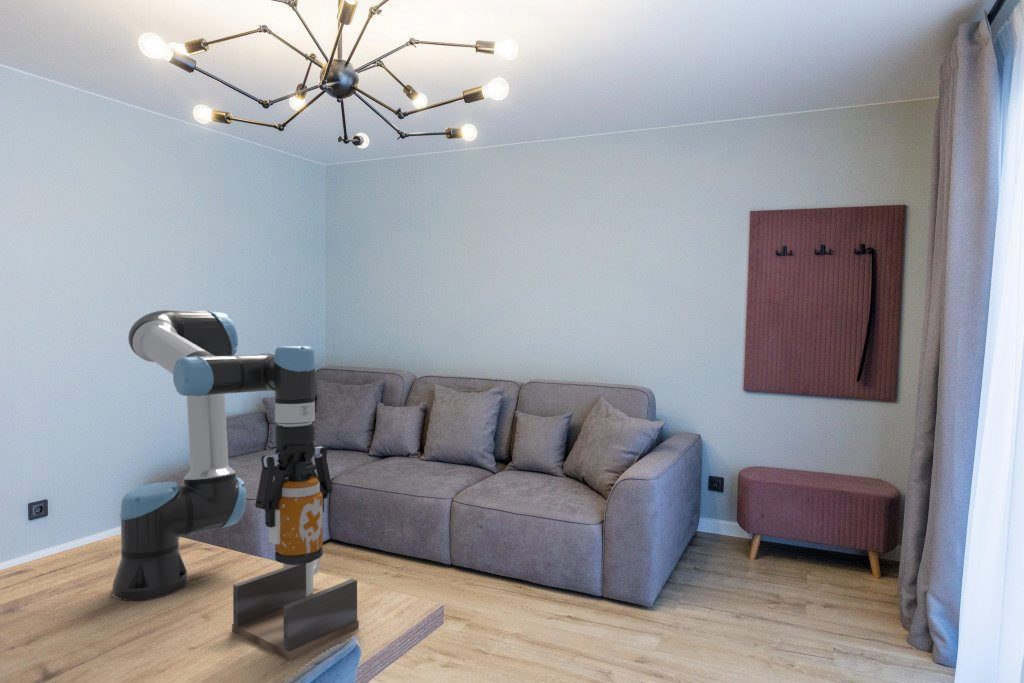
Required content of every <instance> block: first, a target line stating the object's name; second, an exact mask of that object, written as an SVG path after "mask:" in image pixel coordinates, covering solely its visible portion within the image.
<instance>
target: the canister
mask: <svg viewBox="0 0 1024 683" xmlns="http://www.w3.org/2000/svg"><path fill="white" fill-rule="evenodd" d="M277 467H278V464H277V465H276V466H275V473H274V479H275V476H276V469H277ZM312 470H316V465H315V463H313V460H311V461H300V462H297V463H296V464H295V467H294V472H292V474H291V476H290V477H287V478H286V479H288V480H287V482H285V483H284V484H283V488H282V495H281V498H280V500H279V503H278V506H277V508H276V509H278V510H280V544H274V549H275V553H274V555H275V556H274V557H275V560H276V562H277V563H280V564H283V563H284V564H287V565H302V564H307V563H310V562H312V561H316V559H318V558H320V557H321V558H322V556H323V553H324V550H323V549H324V547H323V545H324V543H323V540H324V537H323V535H324V534H323V533H324V532H323V530H324V529H323V528H324V527H323V521H324V520H323V519H324V518H323V514H324V512H323V495H322V493H321V492H320V483H319V481H318V479H317V478H316V477H313V476H309V475H308V474H310V473H312ZM283 471H286V470H283ZM316 471H317V470H316Z"/></svg>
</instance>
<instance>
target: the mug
mask: <svg viewBox="0 0 1024 683" xmlns="http://www.w3.org/2000/svg"><path fill="white" fill-rule="evenodd" d="M321 560H322V556H321V557H320V558H318V559H316V560H314V561H315V562H314V561H312V562H310V563H307V564H306V597H307V596H310V595H312V593H313V591H314V576H315V575H317V574H318V572H319V568H320V565H321ZM282 564H283V565H282V566H283V567H282V568H284V567H287V566H290V565H287V564H284V563H282Z"/></svg>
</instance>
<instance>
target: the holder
mask: <svg viewBox="0 0 1024 683" xmlns="http://www.w3.org/2000/svg"><path fill="white" fill-rule="evenodd" d="M232 590H233V591H232V592H233V593H232V599H233V600H232V601H233V603H232V604H233V606H232V607H233V608H232V609H233V610H232V611H233V612H232V613H233V614H232V615H233V617H232V618H233V619H232V620H233V623H232V624H231V632H232V633H234V634H236V635H238V636H240V637H242V638H244V639H247V641H250V642H252V643H254V644H256V645H258V646H260V647H262V648H264V649H265V650H268V651H270V652H272V653H275V654H276V655H278V656H281V657H282V658H284V659H286V660H289V661H292V660H295V659H296V658H298V657H301V656H304V654H308V653H310V652H311V651H313V650H316V649H317V648H320V647H322V646H324V645H326V644H328V643H330V642H332V641H334V640H336V639H338V638H341V637H343V636H344V635H347V634H349V633H351V632H353V631H355V630H357V629H359V628H360V620H359V619H358V580H357V579H354V578H351V579H348V580H346V581H343V582H341V583H338V584H335V585H333V586H330V587H328V588H325V589H323V590H321V591H320V590H319V591H318V592H316V593H313V594H312V593H311V594H310V595H308V596H306V564H302V565H290V566H287V567H284V568H283V567H282V568H279V569H278V568H277V569H275V570H273V571H270V572H266V573H264V574H260V575H258V576H255V577H252V578H249V579H246V580H243V581H240V582H238V583H237V582H236V583H234V584H233V585H232ZM358 627H359V628H358ZM356 628H357V629H356ZM354 629H355V630H354ZM352 630H353V631H352Z"/></svg>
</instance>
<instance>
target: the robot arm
mask: <svg viewBox="0 0 1024 683" xmlns="http://www.w3.org/2000/svg"><path fill="white" fill-rule="evenodd" d="M127 338H128V344H129V347H130V349H131V350H132V352H133V353H134V354H135V355H136V356H138V358H140V359H141V360H144V361H147V362H151V363H156V364H157V365H159V366H160V367H162V368H163V369H164V370H166V371H167V372H169V373H170V374H172V379H173V385H174V387H175V389H176V392H177V393H178V394H179V395H181V396H183V397H184V396H185V397H186V407H187V425H188V445H189V446H188V447H189V449H188V450H189V466H190V467H189V468H190V469H189V471H188V473H186V475H185V476H184V477H183V486H179V483H177V482H175V481H163V482H154V483H149V484H145V485H143V486H139V487H137V488H133V489H132V490H130V491H128V492H127V493H126V494H125V495H124V496H122V499H121V503H120V504H121V506H120V513H119V518H120V532H121V533H120V543H121V544H120V546H121V551H120V552H121V556H120V557H121V558H120V562H119V564H118V568H117V571H116V573H115V576H114V579H113V582H112V595H113V594H114V596H116V597H118V598H121V599H120V600H122V599H125V600H124V601H143V600H144V601H145V600H150V599H155V598H160V597H164V596H166V595H170V594H172V593H175V592H177V591H179V590H181V589H182V588H183V587H186V585H187V583H188V570H187V568H186V565H185V563H184V560H183V558H182V555H181V553H180V547H179V545H180V544H179V543H180V542H179V540H180V539H179V538H181V537H186V536H191V535H195V534H199V533H204V532H208V531H212V530H222V529H223V528H226V527H230V526H233V525H235V524H237V523H238V522H240V520H241V519H242V517H243V515H244V512H245V509H246V505H247V504H246V503H247V489H246V487H245V482H244V481H243V479H242V478H240V477H237V476H236V470H234V469H233V468H232V467H231V466H229V451H228V450H229V448H228V436H227V435H228V434H227V431H228V430H227V429H228V428H227V415H226V414H227V412H226V411H227V410H226V409H227V408H226V397H225V396H226V394H236V393H237V394H238V393H252V392H253V393H254V392H257V393H258V392H274V397H275V399H274V402H275V404H274V422H275V423H277V425H276V426H275V428H274V429H275V430H274V433H275V434H274V439H275V445H276V450H275V452H274V454H271V455H262V456H261V458H260V459H261V460H260V462H261V473H260V476H259V483H258V488H257V494H256V499H255V502H254V503H255V504H254V505H255V507H256V508H258V509H261V510H263V511H264V512H265V513H264V518H265V519H264V520H265V521H264V522H265V523H264V524H265V527H268V543H271V544H274V545H275V544H280V510H278V509H276V508H277V506H278V503H279V500H280V498H281V495H282V488H283V484H284V483H285V482H287V480H288V479H286V478H287V477H290V476H291V474H292V472H294V467H295V464H296V463H297V462H300V461H312V459H313V458H314V464H315V465H316V471H315V470H312V473H310V474H308V475H309V476H313V477H316V478H317V479H318V481H319V483H320V492H321V493H322V495H323V513H324V512H325V500H326V499H328V497H329V496H328V495H329V494H332V493H333V484H332V479H331V475H330V470H329V464H328V460H327V458H328V457H327V456H328V448H327V447H324V446H319V445H318V446H315V445H314V444H315V443H314V442H315V441H316V425H315V423H313V422H314V421H315V419H316V406H315V405H316V400H315V397H316V362H315V360H316V359H315V350H314V349H313V347H311V346H309V345H280V346H277V347H276V348H275V350H274V351H275V352H274V354H273V353H260V354H246V355H242V354H241V355H240V354H239V355H236V353H237V352H238V348H237V347H238V346H239V337H238V332H237V328H236V325H235V323H234V321H233V320H232V318H231V317H230V316H229V315H228V314H227V313H225V312H221V311H213V310H212V311H211V310H170V309H169V310H167V309H165V310H157V311H153V312H149V313H147V314H144V315H143V316H142V317H139V319H137V320H136V321H135V322H134V323H133V325H132V326H131V327H130V330H129V332H128V337H127ZM277 462H278V463H277ZM277 465H278V467H277V469H276V476H275V478H274V473H275V466H277ZM283 470H286V471H283ZM114 596H113V597H114ZM116 597H115V598H116ZM118 598H117V599H118Z"/></svg>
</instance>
